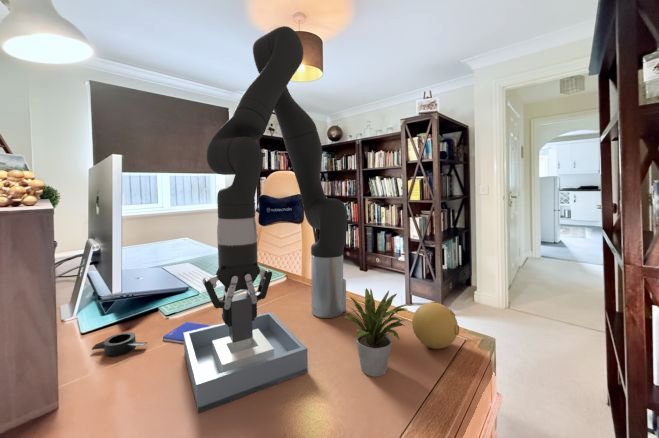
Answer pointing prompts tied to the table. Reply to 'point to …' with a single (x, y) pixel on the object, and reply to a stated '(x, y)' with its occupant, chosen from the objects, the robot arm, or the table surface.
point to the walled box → (241, 361)
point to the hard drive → (182, 331)
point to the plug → (241, 320)
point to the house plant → (375, 333)
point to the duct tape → (119, 344)
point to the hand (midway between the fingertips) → (240, 322)
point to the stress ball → (435, 325)
